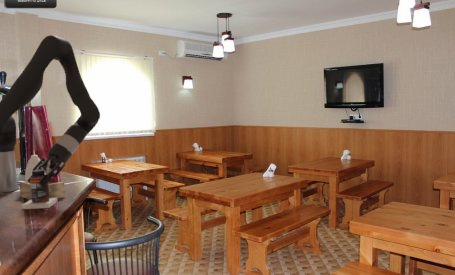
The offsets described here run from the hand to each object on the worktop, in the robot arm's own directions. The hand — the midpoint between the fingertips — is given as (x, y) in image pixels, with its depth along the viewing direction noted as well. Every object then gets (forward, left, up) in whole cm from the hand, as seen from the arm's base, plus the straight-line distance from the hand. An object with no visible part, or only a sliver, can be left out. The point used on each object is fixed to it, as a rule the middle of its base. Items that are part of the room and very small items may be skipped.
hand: (35, 183), depth 136 cm
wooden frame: (-3, +15, -8) cm, 17 cm away
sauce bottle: (-10, +27, -8) cm, 30 cm away
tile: (+1, +1, -8) cm, 8 cm away
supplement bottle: (+1, +1, -7) cm, 7 cm away
